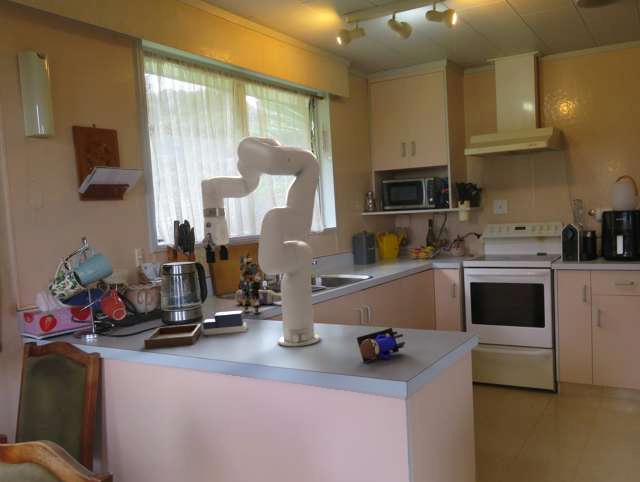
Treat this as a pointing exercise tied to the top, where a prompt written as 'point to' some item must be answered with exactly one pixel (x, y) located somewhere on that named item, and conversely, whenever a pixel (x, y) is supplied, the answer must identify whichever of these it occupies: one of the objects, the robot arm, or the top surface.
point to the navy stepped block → (225, 323)
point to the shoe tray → (173, 336)
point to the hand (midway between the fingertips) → (217, 261)
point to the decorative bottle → (260, 297)
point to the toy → (250, 284)
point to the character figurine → (379, 344)
